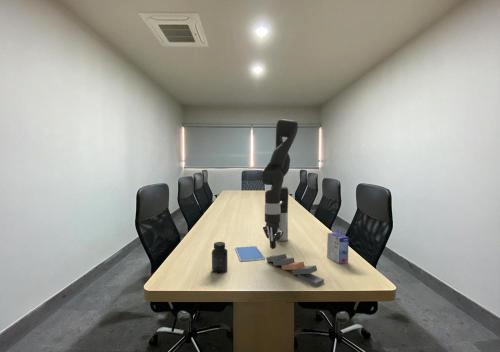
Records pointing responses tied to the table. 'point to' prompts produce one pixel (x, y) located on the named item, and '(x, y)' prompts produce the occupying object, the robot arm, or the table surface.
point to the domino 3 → (293, 265)
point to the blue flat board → (249, 253)
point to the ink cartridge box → (337, 247)
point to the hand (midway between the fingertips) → (272, 248)
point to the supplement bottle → (219, 258)
